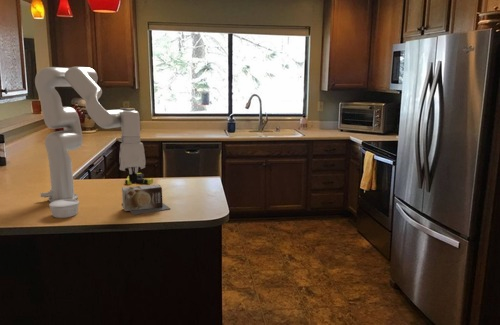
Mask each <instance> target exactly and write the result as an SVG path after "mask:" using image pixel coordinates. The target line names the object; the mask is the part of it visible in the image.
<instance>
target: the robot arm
mask: <svg viewBox="0 0 500 325" xmlns="http://www.w3.org/2000/svg"><path fill="white" fill-rule="evenodd" d="M98 79H99V77H98V73H97V72H96V70H95V69H93V68H91V67H89V66H70V67H59V66H47V67H43V68H40V69H39V71H37V73H36V75H35V78H34V84H35V88H36V91H37V95H38V97H39V102H40V107H41V112H42V116H43V122H44V123H45V124H44V125H45V126H46V127H47V128H48V129H52V130H53V129H62V128H63V130H59V131H58V130H57V131H54V132H53V131H52V132H51V133H49V134H47V135H46V137H45V138H44V146H45V148H46V153H47V157H48V166H49V176H50V177H49V178H50V189H49V191H47V192H40V194H39V195H40V197H41V198H48V201H49V202H50V203H51V202H53V201H57V200H64V199H73V200H77V199H79V195H78V194H77V193H75V189H74V187H75V186H74V176H73V175H74V174H73V163H72V158H71V156H70V154H69V153H68V152H69V151H74V150H78V149H80V148H81V147H82V146H83V141H84V138H83V131H82V127H81V126H82V125H81V121H80V116H79V114H78V112H77V111H76V109H75V108H73V107H71V106H63V103H62V98H61V96H60V93H59V92H58V90H56V87H59V88H60V87H61V88H62V87H64V88H65V87H71V88H72V89H74V91H76V93H77V95H79V96H80V98H81V99H83V100H84V103H85V110H86V112H87V114H88V116H89V117H90V118H91V119H92V121H93V122H94V123H96V125H97V126H99V127H100V128H102V129H105V130H106V129H109V130H110V129H114V128H115V129H116V128H120V129H121V136H120V138H119V137H118V142H121V143H120V145H119V159H118V160H119V170H120V171H123V172H126V173H128V176H129V181H130V182H131V183H133V184H137V183H136V181H137V173H139V171H140V170H142V169H145V168H146V155H145V147H144V143H143V142H141V141H142V140H141V124H140V123H141V122H140V121H141V120H140V117H141V116H140V113H139V111H138V110H125V109H119V108H118V109H105V107H103V106H102V104H100V102H99V99H100V98H101V96H102V94H103V90H102V88H101V87H100V86H99V85H98V84H97V83H98Z"/></svg>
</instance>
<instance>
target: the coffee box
mask: <svg viewBox="0 0 500 325" xmlns="http://www.w3.org/2000/svg"><path fill="white" fill-rule="evenodd" d="M162 188H163V187H162V186H161V185H160V184H146V185H138V186H137V185H136V186H127V187H126V186H125V187H121V192H122V195H121V196H122V203H123V205H122V208H123V211H124V212H130V211H132V210H141V209H150V208H160V207H163V204H164V203H163V189H162ZM162 203H163V204H162Z"/></svg>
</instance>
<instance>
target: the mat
mask: <svg viewBox="0 0 500 325" xmlns="http://www.w3.org/2000/svg"><path fill="white" fill-rule="evenodd" d="M162 204H163V207H160V208H150V209H141V210H132V211H129V212H130V214H132V215H133V216H137V215H142V214H150V213H155V212H162V211H163V212H164V211H168V210H171V208H170V207H169V206H168V205H166V204H165V203H163V202H162ZM121 205H122V206H123V202H122V203H121Z"/></svg>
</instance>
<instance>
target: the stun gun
mask: <svg viewBox="0 0 500 325" xmlns="http://www.w3.org/2000/svg"><path fill="white" fill-rule="evenodd" d="M144 176H145V174H144V173H142V172H138V173H137V181H136V183H135V184H139V185H152V184H153V183H154V180H153V178H150V177H149V178H145V177H144ZM124 183H125V185H126V186H127V185H128V186H129V185H130V186H131V185H133V184H134V183H131V182H130V181H129V175H128V176H127V177H126V179H125V181H124Z"/></svg>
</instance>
